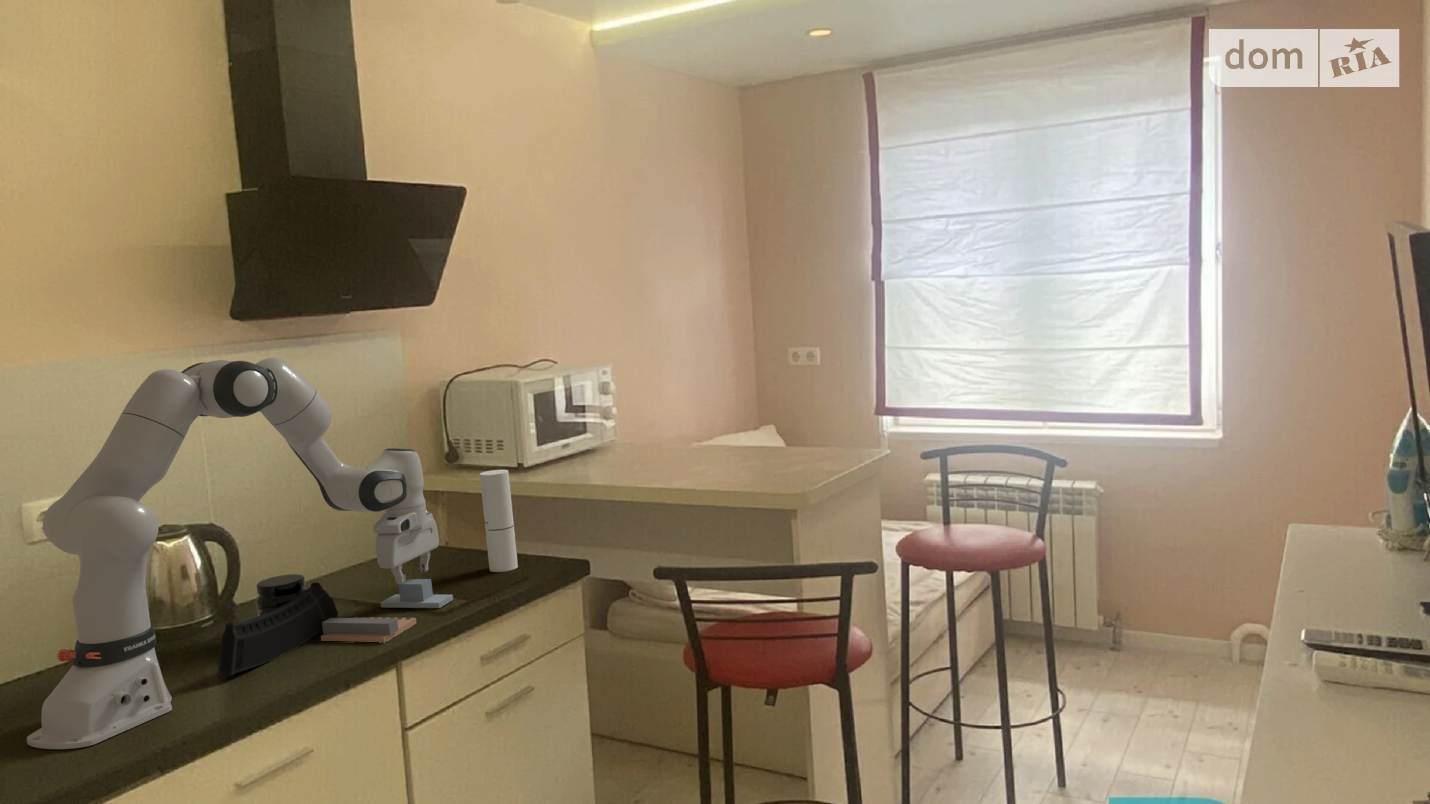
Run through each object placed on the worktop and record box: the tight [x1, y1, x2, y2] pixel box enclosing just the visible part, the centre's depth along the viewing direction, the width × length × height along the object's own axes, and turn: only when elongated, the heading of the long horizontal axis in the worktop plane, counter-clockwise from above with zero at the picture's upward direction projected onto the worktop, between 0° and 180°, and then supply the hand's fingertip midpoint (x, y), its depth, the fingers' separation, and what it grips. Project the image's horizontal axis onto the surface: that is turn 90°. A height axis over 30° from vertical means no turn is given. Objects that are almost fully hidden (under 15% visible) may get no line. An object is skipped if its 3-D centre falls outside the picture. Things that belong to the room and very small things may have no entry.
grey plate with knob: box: [380, 578, 454, 609], centre depth 227 cm, size 6×15×5 cm, turn 75°
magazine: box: [217, 581, 339, 677], centre depth 200 cm, size 17×3×30 cm
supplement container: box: [255, 573, 308, 617], centre depth 212 cm, size 10×10×12 cm
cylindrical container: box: [479, 469, 519, 573], centre depth 252 cm, size 7×7×25 cm
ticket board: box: [320, 616, 417, 644], centre depth 209 cm, size 12×16×4 cm
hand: (412, 577), depth 226 cm, fingers open, 8 cm apart
